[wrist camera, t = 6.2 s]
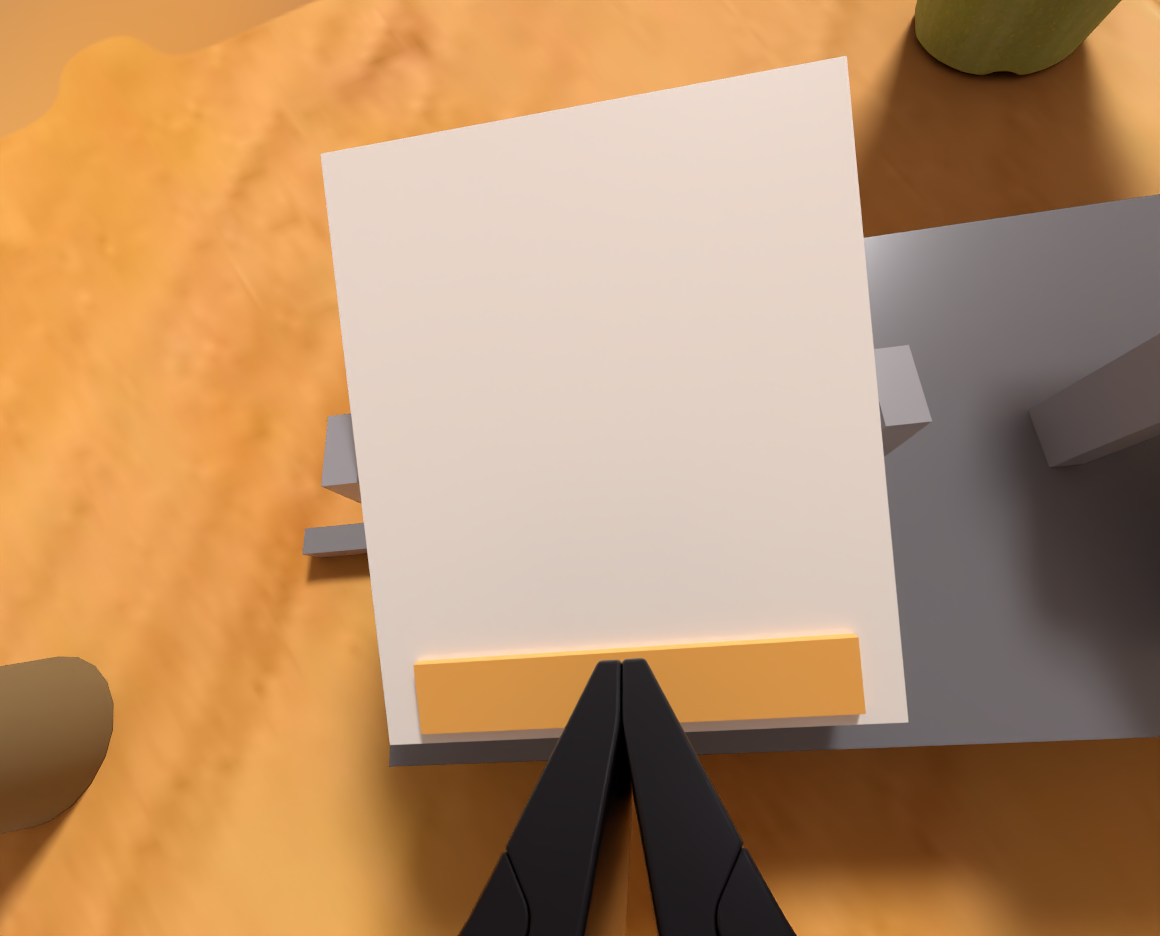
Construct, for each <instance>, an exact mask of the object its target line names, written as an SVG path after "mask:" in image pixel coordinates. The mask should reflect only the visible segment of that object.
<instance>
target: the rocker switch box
mask: <svg viewBox="0 0 1160 936" xmlns="http://www.w3.org/2000/svg"><path fill="white" fill-rule="evenodd" d="M864 248H865V259H866V270H867V280H868V291H869V302H870V313H871V323H872V334H873V345H874V356H875V366H876V377H877V388H878V399H879V410H880V420H881V431H882V442H883V453H884V463H885V474H886V485H887V496H888V506H889V517H890V528H891V539H892V549H893V560H894V571H895V582H896V592H897V603H898V614H899V625H900V635H901V646H902V657H903V668H904V678H905V689H906V700H907V711H908V722H907V723H884V724H861V725H838V726H815V727H792V728H769V729H746V730H723V731H700V732H685V734H686V736H687V737H688V739H689V741H690V743H691V745H692V747H693V749H694V751H695V752H696V754H697V755H705V754H731V753H757V752H783V751H809V750H835V749H861V748H887V747H913V746H939V745H965V744H991V743H1017V742H1043V741H1069V740H1095V739H1121V738H1147V737H1160V194H1158V195H1152V196H1145V197H1138V198H1131V199H1124V200H1118V201H1111V202H1104V203H1097V204H1090V205H1084V206H1077V207H1070V208H1063V209H1056V210H1050V211H1043V212H1036V213H1029V214H1022V215H1016V216H1009V217H1002V218H995V219H988V220H982V221H975V222H968V223H961V224H954V225H948V226H941V227H934V228H927V229H920V230H914V231H907V232H900V233H893V234H886V235H880V236H873V237H866V238H864ZM321 486H322V487H324V488H326V489H329V490H331V491H333V492H336V493H338V494H340V495H343V496H345V497H347V498H350V499H352V500H354V501H357V502H359V503H361V504H362V502H361V494H360V485H359V477H358V468H357V460H356V451H355V443H354V434H353V426H352V417H351V414H344V415H336V416H328V424H327V434H326V444H325V454H324V464H323V474H322V484H321ZM366 553H367V545H366V537H365V528H364V523H358V524H348V525H338V526H327V527H317V528H307V529H305V536H304V545H303V554H304V555H308V556H313V557H318V558H321V557H332V556H343V555H354V554H366ZM558 740H559V738H539V739H516V740H493V741H470V742H447V743H425V744H402V745H390V761H389V767H393V766H419V765H445V764H471V763H497V762H523V761H548V760H549V758H550V756H551V754H552V752H553V750H554V748H555V746H556V744H557V742H558Z"/></svg>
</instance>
